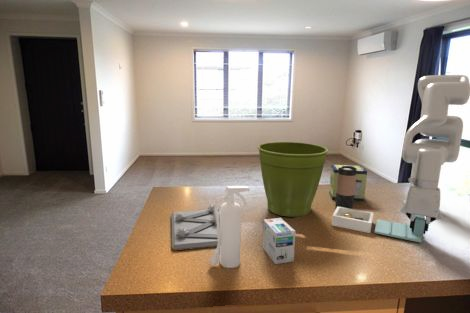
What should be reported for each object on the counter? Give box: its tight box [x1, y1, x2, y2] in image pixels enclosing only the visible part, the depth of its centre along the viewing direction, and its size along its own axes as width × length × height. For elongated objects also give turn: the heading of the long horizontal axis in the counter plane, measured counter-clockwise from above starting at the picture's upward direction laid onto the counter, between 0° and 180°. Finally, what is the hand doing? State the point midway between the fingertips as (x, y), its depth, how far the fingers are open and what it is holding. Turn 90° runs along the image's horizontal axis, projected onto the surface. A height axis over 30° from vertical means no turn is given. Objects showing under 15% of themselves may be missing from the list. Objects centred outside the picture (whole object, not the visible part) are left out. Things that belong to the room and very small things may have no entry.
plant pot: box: [257, 141, 329, 218], centre depth 136 cm, size 30×30×29 cm
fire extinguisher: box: [208, 185, 250, 269], centre depth 93 cm, size 7×12×25 cm, turn 112°
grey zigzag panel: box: [170, 203, 220, 251], centre depth 118 cm, size 30×22×7 cm
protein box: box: [328, 164, 368, 202], centre depth 154 cm, size 10×16×16 cm
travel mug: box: [334, 166, 357, 210], centre depth 135 cm, size 8×8×20 cm
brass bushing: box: [344, 213, 352, 218], centre depth 124 cm, size 3×3×3 cm
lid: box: [374, 214, 426, 243], centre depth 114 cm, size 12×16×7 cm
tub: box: [331, 206, 375, 234], centre depth 122 cm, size 11×14×5 cm
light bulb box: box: [262, 217, 296, 265], centre depth 100 cm, size 11×7×11 cm, turn 17°
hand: (418, 230), depth 112 cm, fingers closed on lid, 3 cm apart
